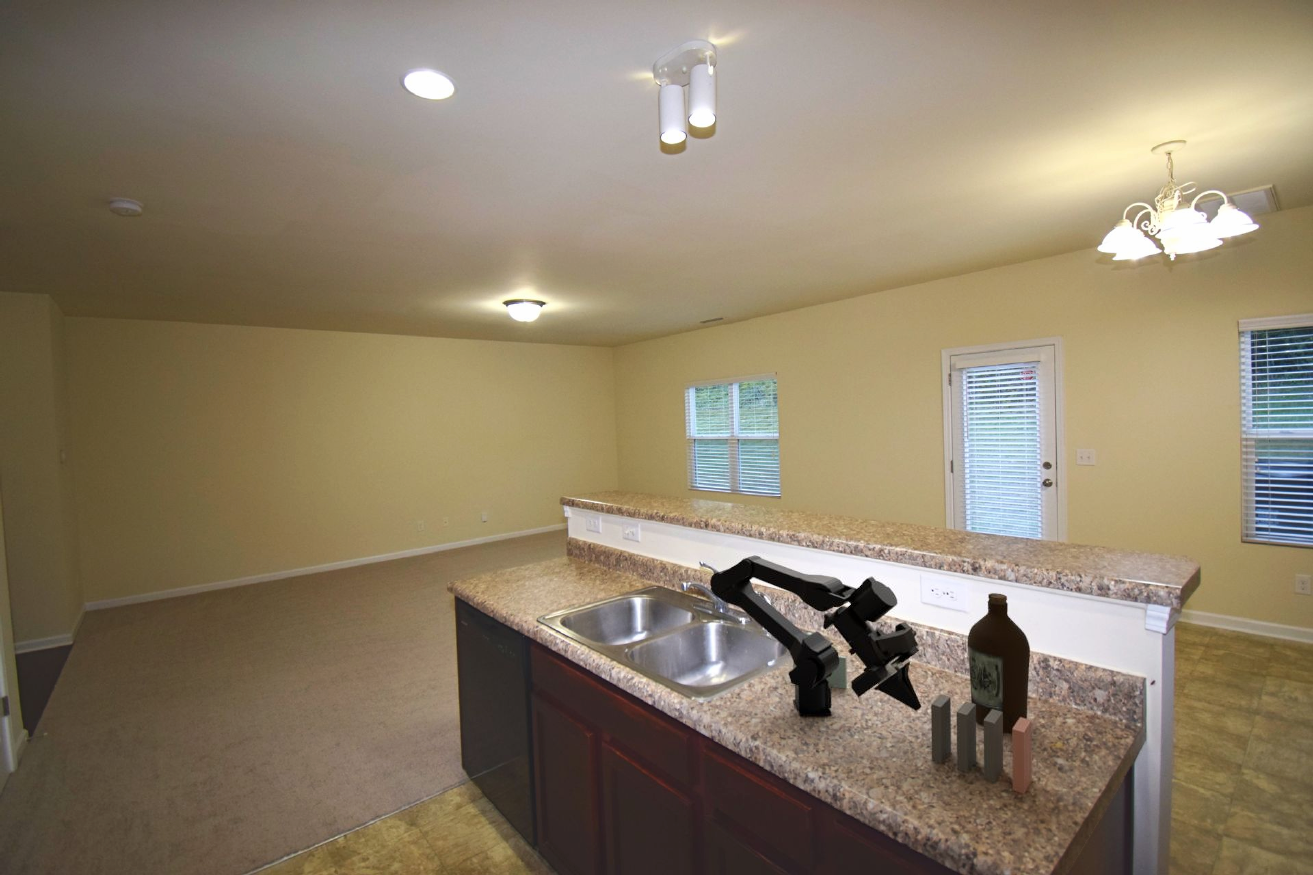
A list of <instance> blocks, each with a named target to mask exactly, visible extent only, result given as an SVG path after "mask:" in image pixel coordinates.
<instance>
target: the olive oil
mask: <svg viewBox="0 0 1313 875" xmlns="http://www.w3.org/2000/svg"><path fill="white" fill-rule="evenodd" d="M1007 600H1008V596H1006V595H1005V594H1003V593H998V592H996V593H995V592H994V593H993V592H991V593H989V594H988V601H987V613H986V614H985V615H984V616H983V617H981V619H979V620H978V621H976V622H975V623H974V624H973V625H972V626H971V628H970V629H969V632H968V635H967V636H968V637H967V651H968V652H967V653H968V669H969V682H970V684H969V685H970V700H971V701H970V703H973V704H976V724H977V723H978V724H979V725H980V726H982V727H984V719H985V718H986V717H987V715H988V714H989V713H990V711H991V710H992V709H994V710H997V711H1001V712H1003V733H1011V734H1012V729H1013V727H1014V726H1015V724H1016V723H1017V721H1018V720H1019V718H1020V717H1022V718H1025V719H1028V695H1029V694H1028V692H1029V677H1030V676H1029V674H1030V673H1029V672H1030V659H1031V657H1030V656H1031V648H1030V647H1031V646H1030V644H1029V639H1028V638H1027V635H1026V633H1025V632H1024V631H1023V630H1022V629H1021V628H1020V627H1019V625H1018V624H1016V623H1015V621H1013V620H1012V618H1011V617H1010V616H1009V615H1008V611H1009V610H1008V606H1009V603H1008V602H1007Z"/></svg>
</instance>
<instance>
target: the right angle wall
mask: <svg viewBox="0 0 1313 875" xmlns="http://www.w3.org/2000/svg"><path fill="white" fill-rule="evenodd" d="M806 634H809V635H811V634H813V632H809V631H807V633H806ZM838 656H839V666H838V668H837V669H836V670H835V671H833V672H832V675H831V676H830V677H828V678H826V679H827V681H828V684H829V687H835V688H840V689H844V690H847V688H848V678H847V677H848V672H847V669H848V668H847V656H842V655H839V654H838ZM792 661H793V660H792ZM792 665H793V666H792V667H793V669H794V668H795V667H796V665H795V664H794V661H793V662H792ZM793 669H792V670H793Z"/></svg>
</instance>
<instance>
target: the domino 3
mask: <svg viewBox="0 0 1313 875" xmlns="http://www.w3.org/2000/svg"><path fill="white" fill-rule="evenodd" d="M1003 771H1004V732H1003V712H1001V711H997V710H994V709H992V710H991V711H990V713H989V714H988V715H987V717H986V718H985V719H984V726H983V777H984V778H983V780H985V781H988V782H990V783H992V784H996V782H997V781H998V780H999V777H1000V776H1001V774H1002V773H1003Z"/></svg>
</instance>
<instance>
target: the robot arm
mask: <svg viewBox="0 0 1313 875" xmlns="http://www.w3.org/2000/svg"><path fill="white" fill-rule="evenodd" d="M752 579H756V580H759V581H762V582H764V583H766V584H769V585H771V586H774V587H777V588H779V589H782V590H784V591H787V592H790V593H792V594H794V595H795V596H797V597H798V598H799V599H800V600H801V601H802V602H803V603H804V604H806V605H807V606H809V607H810V608H812V609H814V610H816V611H817V612H820V613H822V612H826V613H825V614H823V626H822V627H823V629H824V630H827V629H829V628H830V627H834V628H835V629H836V630H837V631H838V633H839V634H840V635H841V637H842V638H843V640H845V642H846V643H847V645H848V646H849V647H850V649H849V650H848V653H849V654H850V655H851V656H853V655H856V656H857V657H858V658H859V660H860V661H861V663H862V664H863V665H864V666H865V667H864V668H863V669H862V671H863V672H862V673H860V674H859V675H858V676H856V677H855V678H854V679H852V680H851V683H850V684H851V690H852V691H853V693H855V695H856V696H857V697H858V698H860V697H861V696H863V695H865V694H866V693H867V692H868V691H870V690H872V689H873V690H875V691H880V692H881V693H883V694H885V695H887V696H889V697H891V698H893V699H895V700H896V701H899V703H902V704H903V705H905V706H907V707H909V708H910V709H912V710H914V711H916V712H917V711H919V710H920V709H921V708H922V704H921V702H920V699H919V698H918V695H917V693H916V691H915V688H914V686H913V684H912V681H911V679H910V677H909V670H910V668H909V667H910V665H911V662H910V661H908V662H906V661H907V660H909V659H910V658H911V657H913V656H915V655H916V654H917V653H918V652H919V651H920V649H919V648H918V647H917V646H918V645H919V644H918V642H917V640H916V638H915V637H916V635H917V631H916V630H914V628H913V627H912V626H910V625H909V624H908V623H907V622H906V621H904V622H900V623H897V625H895V627H894V628H895V629H894V631H891V632H888V633H885V632H884V630H882V629H881V628H877V629H875V628H874V627H873V626H872V625H871V624H870V623H876V622H877V621H879V620H880V619H882V617H884V616H885V615H886V614H887V613H888V612H890V611H891V610H892V609H894V608H895V607H896V606H897V605H898V598H897V596H896V594H895V593H894V591H893V590H892V589H891V588H890V587H889V586H887V585H885V584H884V583H883V582H881V581H877V580H876V579H875V577H873V576H869V577H867V578H866V579H865V580H863V581H862V583H861V584H860V585H859V586H858V587H853V586H851V585H848V584H846V583H845V584H844V583H843V581H841V580H840V578H837V577H835V576H829V575H822V574H808V573H802V572H800V571H797V570H795V569H791V568H789V567H786V566H784V565H781V564H779V563H775V562H773V561H769V560H766V559H764V558H762V557H761V556H759V555H752V556H748V557H744V558H742V559H741V560H740V561H739V562H738V563H736V564H735V565H733V566H731V567H730V568H727V569H724V570H720V571H718V572H715V573H713V574H712V576H711V577H710V581H709V585H710V591H711V593H712V594H713V595H714V596H715V597H716V598H718V599H720V600H721V601H723V602H725V603H726V604H729V605H733V606H736V607H739V608H740V609H741V610H742V611H743V612H745V613H746V614H747V615H748V616H749V617H751V618H752V620H754V621H755V622H756V623H757V624H758V625H760V626H761V627H762V628H763V629H764V630H765V631H766V632H767V633H768V634H770V635H771V636H772V637H773V638H775V640H777V641H778V642H779V643H780V645H782V646H783V647H784V648H785V649H787V650H788V652H789V653H790V656H791V659H792V661H794V664H795V665H796V667H795V668H794V669H791V670H790V671H789V672H788V678H789V679H790V683H791V684H793V685H794V695H795V696H794V699H793V700H792V702H793V705H794V706H795V709H796V711H797V712H798V714H799V716H800V717H823V716H824V717H825V716H826V717H828V716H832V714H833V712H832V710H831V709H832V688H831V686H829V684H828V681H827V679H826V678H828V677H830V676H831V675H832V672H833V671H835V670H836V669H837V668H838V666H839V656H840V655H839V652H838V650H837V648H836V647H834V646H833V645H834V642H831V641H829V640H828V639H826V638H825V637H824V636H823V634H822V633H820V632H819V631H815V632H812V634H811V635H809V634H807V633H806V632H804V631H803V630H801V629H800V628H799V627H798V626H796V625H795V624H794V623H792V622H791V621H790V619H788V618H787V617H786V616H785V615H783V614H782V613H781V612H780V611H779V610H777V609H776V608H775V607H774V606H772V605H771V604H770V603H769V602H768V601H767V600H765V598H763V597H762V596H760V594H758V592H756V591H755V590H754V587H753V585H752V582H751V580H752ZM847 603H849V605H848V606H847V607H846V606H843V605H846V604H847ZM833 608H837V609H835V610H834V611H833V612H828V611H830V610H831V609H833ZM869 622H870V623H869ZM838 655H839V656H838ZM904 662H906V663H905V664H904ZM873 687H874V688H873Z"/></svg>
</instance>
